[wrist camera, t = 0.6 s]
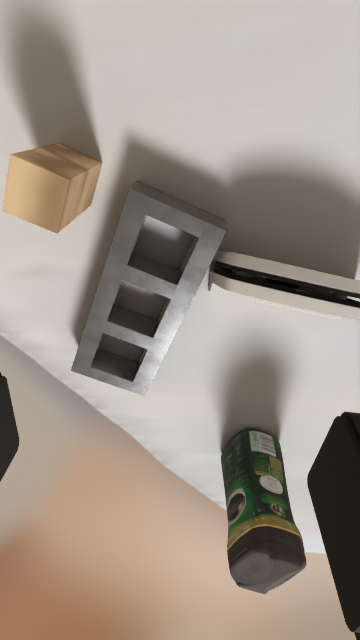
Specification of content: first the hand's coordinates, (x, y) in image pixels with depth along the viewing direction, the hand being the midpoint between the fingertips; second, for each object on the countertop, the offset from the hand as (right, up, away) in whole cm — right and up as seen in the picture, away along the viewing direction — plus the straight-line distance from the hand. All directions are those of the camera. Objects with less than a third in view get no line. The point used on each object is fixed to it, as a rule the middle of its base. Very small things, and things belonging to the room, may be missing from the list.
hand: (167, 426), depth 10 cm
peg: (-10, +18, +25) cm, 33 cm away
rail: (-4, +6, +32) cm, 33 cm away
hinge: (+12, +9, +30) cm, 34 cm away
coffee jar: (+12, -17, +46) cm, 50 cm away
